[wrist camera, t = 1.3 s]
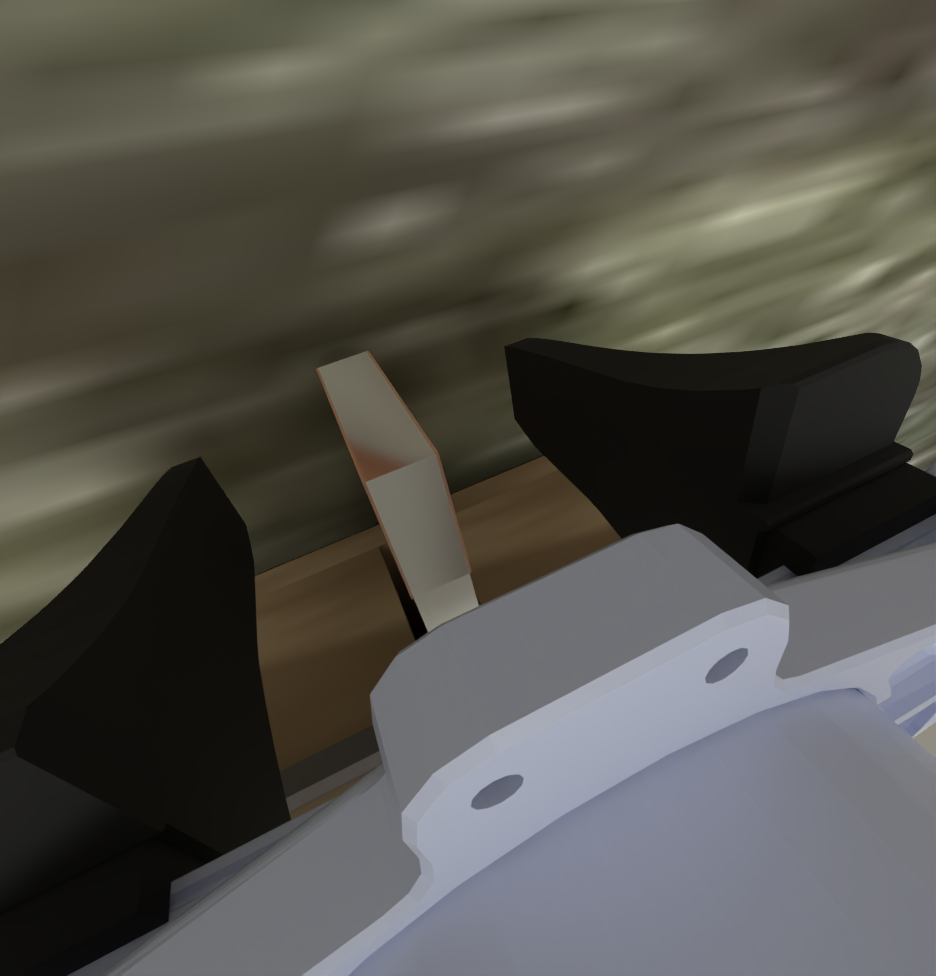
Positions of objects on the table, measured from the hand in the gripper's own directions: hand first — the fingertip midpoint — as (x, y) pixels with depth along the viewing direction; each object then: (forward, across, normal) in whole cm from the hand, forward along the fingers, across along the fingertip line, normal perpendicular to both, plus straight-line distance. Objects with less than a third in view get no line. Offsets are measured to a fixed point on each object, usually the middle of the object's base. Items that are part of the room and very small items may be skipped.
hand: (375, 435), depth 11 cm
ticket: (+1, 0, +8) cm, 8 cm away
